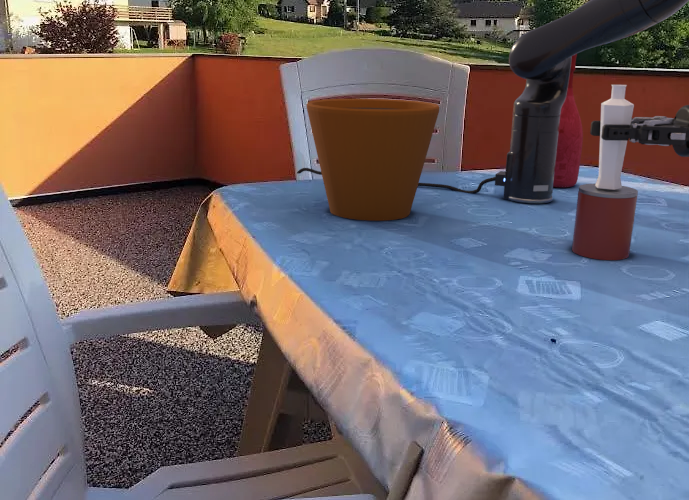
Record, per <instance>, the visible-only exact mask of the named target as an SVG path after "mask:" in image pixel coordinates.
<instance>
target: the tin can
mask: <svg viewBox="0 0 689 500" xmlns="http://www.w3.org/2000/svg"><path fill="white" fill-rule="evenodd" d="M595 184H596V183H584V184H580V185H579V186H578V190H577V191H578V192H577V199H576V209H575V218H574V226H573V237H572V245H571V251H572V252H573V253H574V254H576V255H578V256H581V257H584V258H588V259H592V260H600V261H619V260H620V261H621V260H626V259H628V258H629V257H630V253H631V246H632V238H633V230H634V224H635V216H636V208H637V202H638V194H639V190H637V189H635V188H634V187H630V186H625V185H622V188H619V189H615V190H614V189H603V188H597V187H596V186H595Z"/></svg>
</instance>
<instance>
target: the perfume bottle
mask: <svg viewBox="0 0 689 500" xmlns="http://www.w3.org/2000/svg"><path fill="white" fill-rule="evenodd" d="M627 86H628V85H627V84H611V95H610V98H609V99H607V100H605V101H603V102H601V103H600V121H601V124H600V136H599V153H598V154H599V155H598V175H597V179H596V182H595V183H594V184H595V186H596V187H597V188H603V189H614V190H615V189H619V188H622V186H623V184H622V179H621V178H622V177H621V176H622V170H623V166H624V160H625V156H626V151H627V144H628V141H624V140H603V139H602V137H601V136H602V127H603V126H604V125H605V124H620V125H630V124H631V119H632V118H633V113H634V108H635V104H634V103H632V102H630V101H629V100H627V99H625V98H626V89H627Z"/></svg>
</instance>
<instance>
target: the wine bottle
mask: <svg viewBox="0 0 689 500" xmlns="http://www.w3.org/2000/svg"><path fill="white" fill-rule="evenodd" d="M577 57H578V53H577V54H575V55H573V56H572V59H571V69H570V76H569V83H568V90H567V95H566V99H565V102H564V104H563V106H562V108H561V114H560V124H559V134H558V144H557V153H556V163H555V173H554V182H553V188H560V189H562V188H565V189H566V188H571V187H574V186H576V185H577V183H578V179H579V175H580V174H579V173H580V166H581V158H582V152H583V151H582V150H583V142H584V141H583V140H584V130H583V125H582V119H581V116H580V112H579V110H578V106H577V103H576V100H575V96H574V88H573V87H574V86H573V83H574V82H573V81H574V72H575V70H576V63H577Z"/></svg>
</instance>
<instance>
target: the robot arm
mask: <svg viewBox="0 0 689 500" xmlns="http://www.w3.org/2000/svg"><path fill="white" fill-rule="evenodd" d="M688 2H689V0H588V1H587V2H585V3H584V4H582V5H580V6H579V7H577V8H576V9H574V10H572V11H571V12H569V13H568V14H565V15H564V16H562V17H559V18H557V19H555V20H552V21H550V22H548V23H546V24H544V25H540V26H539V27H536V28H534V29H532V30H529V31H527V32H525V33H523V34H522V35H520V36H519V37H518V38H517V39H516V40H515V41H514V43H513V44H512V46H511V48H510V51H509V54H508V65H509V67H510V70H511V71H512V72H513V73H514V74H515V75H516V76H517V77H519V78H521V79H524V80H526V81H525V87H524V89H523V91H522V93H521V94H520V95H519V96H518V97H517V98H516V99H515V100H514V102H513V107H512V121H511V131H510V132H511V134H510V143H509V144H510V145H509V151H508V152H507V153H506V159H505V160H506V161H505V170H499V172H497V173H495V176H493V177H489V178H485V179H483V180H482V181H480V182H479V184H478V186H477V187H476V189H472V190H466V189H461V188H458V187H455V186H452V185H449V184H441V183H430V182H419V183H418V187H427V188H439V189H447V190H451V191H454V192H459V193H466V194H471V195H472V194H474V195H475V194H479V192H481V190H482V189H483V188H482V187H483V186H484V185H486V184H487V183H491V182H494V186H495V187H496V186H498V187H503V195H502V196H503V197H502V199H503V200H508V201H512V202H516V203H522V204H547V203H551V202H552V201H553V193H554V187H553V182H554V173H555V163H556V153H557V144H558V134H559V124H560V114H561V108H562V106H563V104H564V102H565V99H566V95H567V90H568V83H569V76H570V69H571V59H572V56H573V55H575V54H577V55H578V54H579V53H582V52H584V51H586V50H589V49H592V48H595V47H599V46H603V45H607V44H610V43H613V42H616V41H620V40H623V39H626V38H629V37H631V36H634V35H636V34H638V33H641V32H644V31H645V30H647V29H648V28H651V27H653V26H655V25H657V24H659V23H661V22H663V21H665V20H666V19H669V18H670V17H671V16H673V15H674V14H676V13H677V12H678V11H679V10H681V9H682V8H683V7H684V6H685V5H686V4H687V3H688ZM600 124H601V120H592V121H591V122H590V131H589V133H590V135H591V136H593V137H600ZM601 137H602V139H603V140H624V141H627V142H628V141H629V142H631V143H633V144H636V143H638V144H640V145H647V146H656V145H658V146H663V147H672V148H673V151H674V152H675V153H676V155H678V156H679V157H682V158H689V104H685V105H682V106H681V107H680V108H679V109H678V110H677V112H676V113H675V116H674V117H673V118H672V117H667V116H664V115H655V116H653V117H648V116H635V117H632V119H631V124H630V125H620V124H605V125H604V126H603V127H602V136H601ZM303 172H309V173H312V174H315V175H320V176H322V173H321V170H320V171H319V170H315V169H313V168H310V167H302V168H300V169H299V170H297V172H296V174H297V175H298V174H302V173H303Z"/></svg>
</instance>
